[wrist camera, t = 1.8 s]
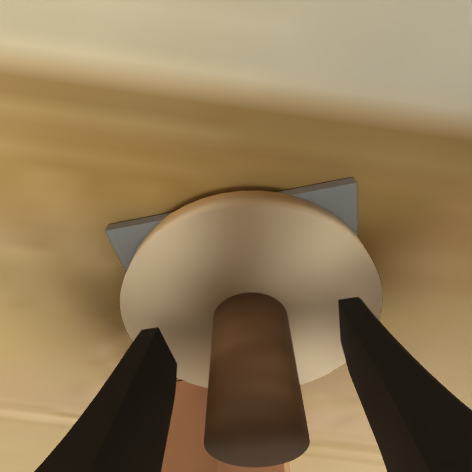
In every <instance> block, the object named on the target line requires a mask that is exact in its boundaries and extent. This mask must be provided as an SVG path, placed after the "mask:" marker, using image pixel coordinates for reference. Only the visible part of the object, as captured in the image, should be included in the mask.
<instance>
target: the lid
mask: <svg viewBox="0 0 472 472" xmlns="http://www.w3.org/2000/svg"><path fill="white" fill-rule="evenodd" d="M353 297H359V298H361V299H362V300H363V302H364V303H365V304H366V306H367V307H368V308H369V309H370V311H371V312H372V313H373V314H374V315H375V317H376V318H377V319H378V320H379V317H380V314H381V308H382V301H383V297H382V285H381V281H380V277H379V274H378V272H377V270H376V267H375V265H374V263H373V261H372V259H371V258H370V256H369V254H368V252H367V251H366V249H365V247H364V246H363V244H362V242H361V241H360V239H359V238H358V237H357V235H356V234H355V232H354V231H353V230H352V229H351V228H350V227H349V226H348V225H347V224H346V223H345V222H344V221H343V220H341V219H340V218H339V217H337V216H336V215H334V214H333V213H332V212H330V211H329V210H327V209H325V208H323V207H321V206H319V205H317V204H315V203H313V202H310V201H308V200H305V199H302V198H300V197H296V196H292V195H288V194H284V193H280V192H270V191H261V190H256V191H235V192H228V193H221V194H217V195H213V196H209V197H205V198H202V199H200V200H197V201H195V202H192V203H190V204H187V205H185V206H183V207H181V208H180V209H178V210H176V211H174V212H172V213H171V214H169V215H168V216H167V217H165V218H164V219H163V220H162V221H160V222H159V223H158V224H157V225H156V226H155V227H154V228H153V229H152V230H151V231H150V232H149V233H148V234H147V235H146V236H145V238H144V239H143V241H142V242H141V243H140V245H139V246H138V248H137V250H136V252H135V255H134V257H133V259H132V261H131V263H130V265H129V268H128V270H127V272H126V274H125V277H124V280H123V283H122V287H121V292H120V310H121V317H122V320H123V323H124V327H125V329H126V331H127V333H128V335H129V337H130V338H131V340H132V341H134V340H135V338H136V337H137V335H138V334H139V333H140V331H141V330H143V329H149V328H156V327H159V329H160V331H161V333H162V335H163V337H164V339H165V341H166V343H167V345H168V347H169V349H170V351H171V353H172V355H173V357H174V358H175V360H176V362H177V378H179V379H181V380H184V381H186V382H188V383H191V384H195V385H198V386H201V387H205V388H208V394H207V407H206V419H205V432H204V447H205V449H206V451H207V452H208V453H209V454H210V455H211V456H212V457H214V458H215V459H217V460H219V461H221V462H224V463H227V464H230V465H235V466H240V467H269V466H275V465H280V464H284V463H287V462H289V461H292V460H294V459H296V458H298V457H299V456H300V455H302V454H303V453H304V452H305V451H306V450H307V448H308V446H309V443H310V440H309V434H308V428H307V422H306V417H305V411H304V405H303V400H302V394H301V388H300V385H302V384H305V383H308V382H311V381H313V380H316V379H318V378H320V377H323V376H325V375H326V374H328V373H330V372H332V371H334V370H335V369H337V368H338V367H340V366H341V365H343V364H344V363H346V359H345V356H344V352H343V348H342V345H341V340H340V323H339V306H338V300H340V299H347V298H353Z"/></svg>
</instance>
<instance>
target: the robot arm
mask: <svg viewBox="0 0 472 472" xmlns="http://www.w3.org/2000/svg"><path fill="white" fill-rule="evenodd" d="M338 306H339V323H340V340H341V345H342V348H343V352H344V356H345V359H346V363H347V366H348V370H349V373H350V376H351V378H352V381H353V383H354V386H355V388H356V391H357V393H358V396H359V398H360V401H361V403H362V406H363V409H364V411H365V414H366V416H367V419H368V421H369V424H370V426H371V429H372V431H373V434H374V436H375V439H376V441H377V444H378V446H379V449H380V452H381V454H382V457H383V460H384V463H385V466H386V469H387V472H472V410H471V409H469V408H468V407H467V406H466V405H465V404H464V403H462V402H461V401H460V400H459V399H458V398H456V397H455V396H454V395H453V394H452V393H451V392H450V391H449V390H447V389H446V388H445V387H444V386H443V385H442V384H441V383H440V382H439V381H438V380H436V379H435V378H434V377H433V376H432V375H431V374H430V373H429V372H428V371H427V370H426V369H425V368H424V367H423V366H422V365H421V364H420V363H419V362H418V361H417V360H416V359H414V358H413V357H412V355H411V354H410V353H409V352H408V351H407V350H406V349H405V348H404V347H403V346H402V345H401V344H400V343H399V342H398V341H397V340H396V339H395V338H394V337H393V336H392V335H391V334H390V332H389V331H388V330H387V329H386V328H385V327H384V326H383V325H382V323H381V322H380V321H379V320H378V319H377V318H376V317H375V315H374V314H373V313H372V312H371V311H370V309H369V308H368V307H367V306H366V304H365V303H364V302H363V300H362V299H361V298H359V297H353V298H347V299H340V300H338ZM176 379H177V362H176V360H175V358H174V357H173V355H172V353H171V351H170V349H169V347H168V345H167V343H166V341H165V339H164V337H163V335H162V333H161V331H160V329H159V327H156V328H149V329H143V330H141V331H140V333H139V334H138V335H137V337H136V338H135V340H134V341H133V343H132V344H131V346H130V347H129V349H128V350H127V352H126V353H125V355H124V356H123V358H122V359H121V361H120V362H119V364H118V365H117V367H116V368H115V370H114V371H113V372H112V374H111V375H110V377H109V378H108V380H107V381H106V382H105V384H104V385H103V387H102V388H101V390H100V391H99V392H98V394H97V395H96V397H95V398H94V399H93V401H92V402H91V403H90V405H89V406H88V407H87V409H86V410H85V411H84V413H83V414H82V415H81V417H80V418H79V419H78V421H77V422H76V423H75V424H74V426H73V427H72V428H71V429H70V431H69V432H68V433H67V434H66V436H65V437H64V438H63V439H62V441H61V442H60V443H59V444H58V445H57V446H56V448H55V449H54V450H53V451H52V452H51V453H50V455H49V456H48V457H47V458H46V459H45V460H44V462H43V463H42V464H41V465H40V466H39V467H38V468H37V469H36V470H35V471H34V472H161V470H162V464H163V459H164V453H165V448H166V443H167V437H168V432H169V427H170V422H171V416H172V411H173V405H174V399H175V392H176Z"/></svg>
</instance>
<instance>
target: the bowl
mask: <svg viewBox="0 0 472 472" xmlns="http://www.w3.org/2000/svg"><path fill="white" fill-rule="evenodd" d="M207 394H208V388H205V387H201V386H198V385H195V384H191V383H188V382H186V381H177V382H176V392H175V399H174V405H173V411H172V416H171V422H170V427H169V432H168V437H167V443H166V448H165V453H164V459H163V464H162V470H161V472H290V467H289V462H287V463H284V464H280V465H275V466H269V467H240V466H235V465H230V464H227V463H224V462H221V461H219V460H217V459H215V458H214V457H212V456H211V455H210V454H209V453H208V452H207V451H206V449H205V447H204V432H205V419H206V407H207Z"/></svg>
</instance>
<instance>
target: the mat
mask: <svg viewBox="0 0 472 472" xmlns="http://www.w3.org/2000/svg"><path fill="white" fill-rule="evenodd" d="M279 192H280V193H284V194H288V195H292V196H296V197H300V198H302V199H305V200H308V201H310V202H313V203H315V204H317V205H319V206H321V207H323V208H325V209H327V210H329V211H330V212H332V213H333V214H334V215H336V216H337V217H339V218H340V219H341V220H343V221H344V222H345V223H346V224H347V225H348V226H349V227H350V228H351V229H352V230H353V231H354V232H355V234H356V235H357V237H358V234H357V182H356V181H355V179H354V178H353V177H351V178H346V179H341V180H336V181H331V182H326V183H320V184H315V185H310V186H305V187H300V188H295V189H290V190H284V191H279ZM171 213H172V212H171ZM171 213H166V214H161V215H156V216H151V217H146V218H141V219H135V220H130V221H125V222H120V223H115V224H110V225H108V227H107V229H106V230H105V232H106V234H107V236H108V238H109V240H110V242H111V244H112V246H113V248H114V249H115V251H116V253H117V255H118V257H119V259H120V261H121V263H122V265H123V267H124V269H125V271H126V272H127V270H128V268H129V265H130V263H131V261H132V259H133V257H134V255H135V252H136V250H137V248H138V246H139V245H140V243H141V242H142V241H143V239H144V238H145V236H146V235H147V234H148V233H149V232H150V231H151V230H152V229H153V228H154V227H155V226H156V225H157V224H158V223H159V222H160V221H162V220H163V219H164V218H165V217H167V216H168V215H169V214H171Z"/></svg>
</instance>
